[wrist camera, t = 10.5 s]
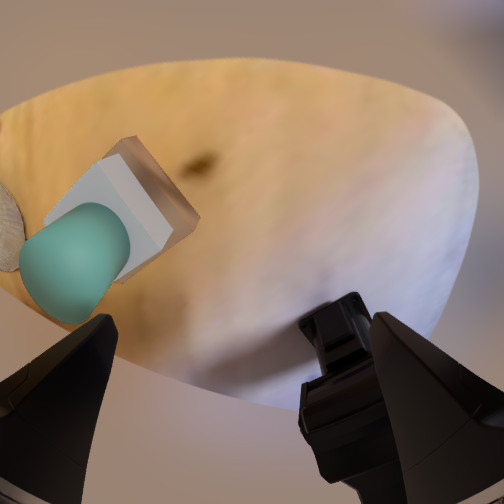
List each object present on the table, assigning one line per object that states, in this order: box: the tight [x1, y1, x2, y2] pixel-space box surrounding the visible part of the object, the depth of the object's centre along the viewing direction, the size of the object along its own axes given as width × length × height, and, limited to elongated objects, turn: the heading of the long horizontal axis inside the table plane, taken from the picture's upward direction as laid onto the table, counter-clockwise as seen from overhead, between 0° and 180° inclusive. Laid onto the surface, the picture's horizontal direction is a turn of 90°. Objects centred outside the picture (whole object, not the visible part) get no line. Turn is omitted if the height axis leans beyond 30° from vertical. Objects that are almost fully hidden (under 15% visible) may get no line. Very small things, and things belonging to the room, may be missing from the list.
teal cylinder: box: [19, 202, 130, 324], centre depth 13 cm, size 5×5×5 cm
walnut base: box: [101, 136, 200, 284], centre depth 19 cm, size 8×8×3 cm
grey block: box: [43, 153, 173, 282], centre depth 16 cm, size 6×6×3 cm
